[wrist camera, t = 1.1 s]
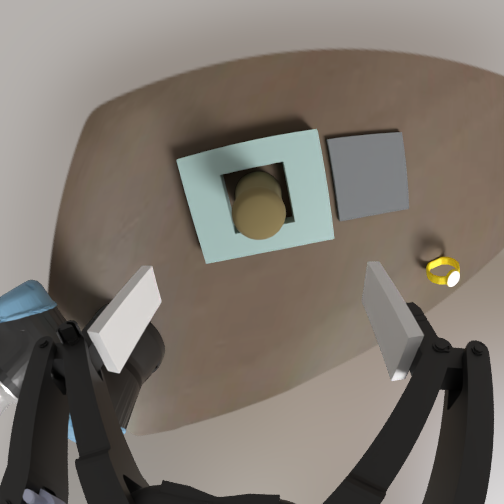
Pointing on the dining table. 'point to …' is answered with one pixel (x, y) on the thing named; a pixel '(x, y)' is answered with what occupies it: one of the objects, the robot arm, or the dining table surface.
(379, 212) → the rubber mat
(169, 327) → the dining table surface
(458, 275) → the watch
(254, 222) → the cork
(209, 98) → the dining table surface
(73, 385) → the robot arm
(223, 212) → the socket board
